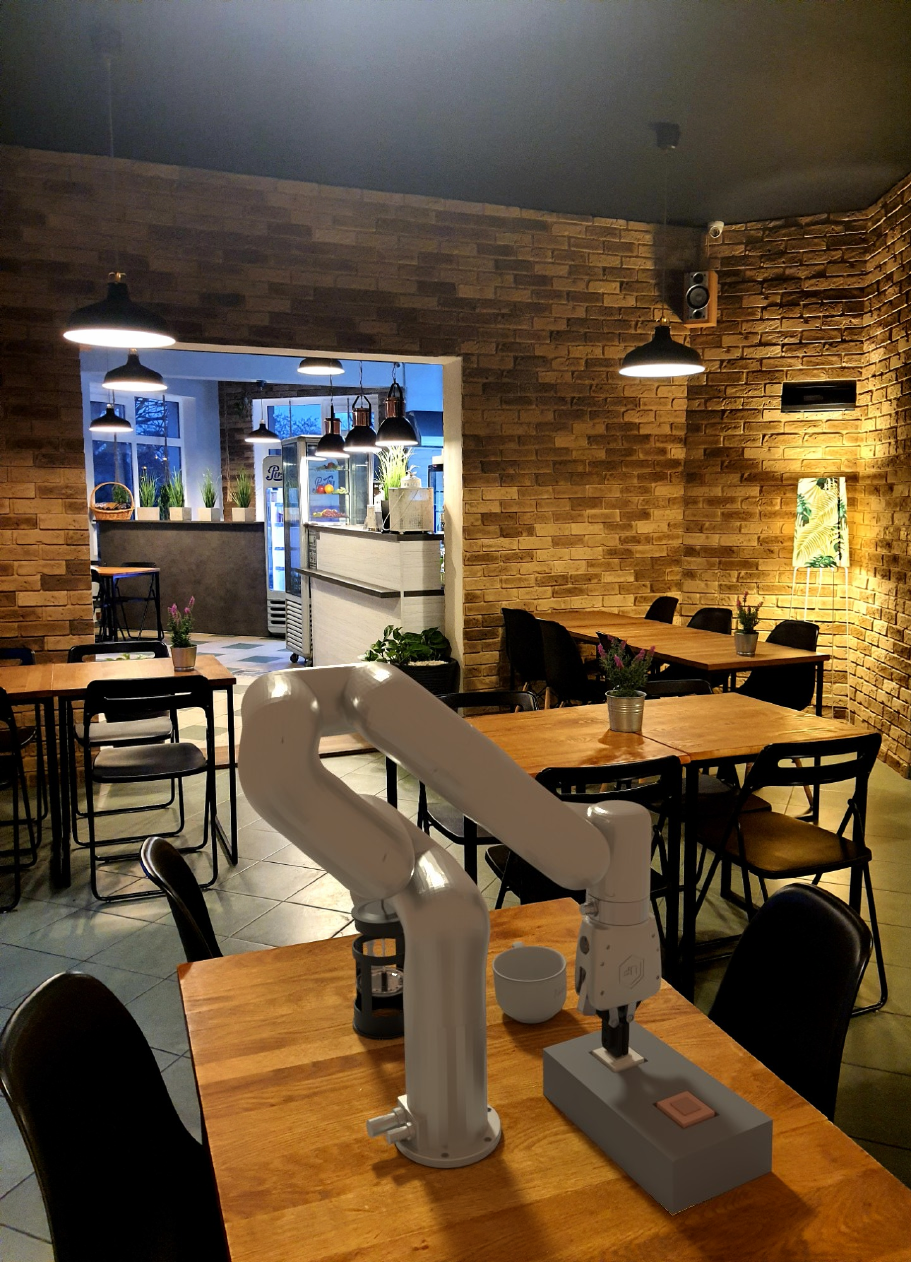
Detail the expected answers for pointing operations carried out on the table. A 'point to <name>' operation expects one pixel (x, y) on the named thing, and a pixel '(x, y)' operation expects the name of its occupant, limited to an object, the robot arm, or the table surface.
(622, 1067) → the key ivory
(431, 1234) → the table surface
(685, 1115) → the key terracotta
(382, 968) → the french press
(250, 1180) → the table surface
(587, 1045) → the key console
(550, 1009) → the teacup
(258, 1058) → the table surface
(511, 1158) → the table surface
